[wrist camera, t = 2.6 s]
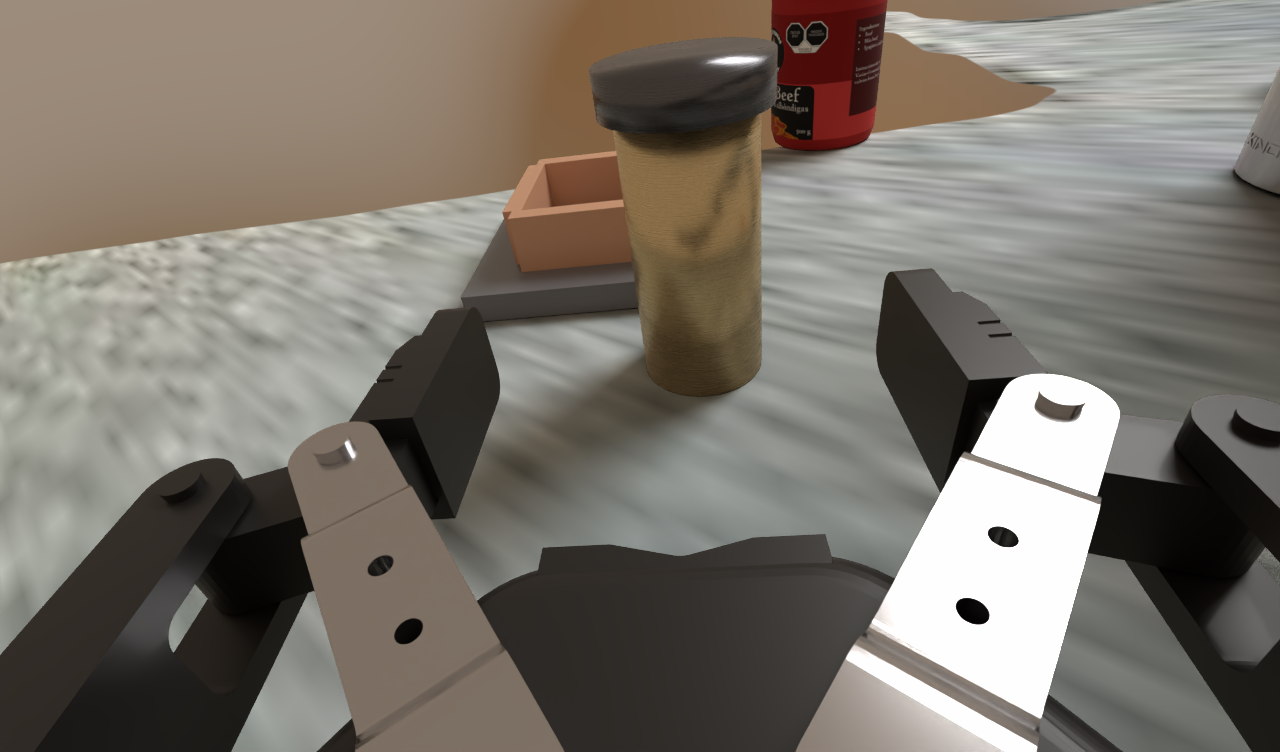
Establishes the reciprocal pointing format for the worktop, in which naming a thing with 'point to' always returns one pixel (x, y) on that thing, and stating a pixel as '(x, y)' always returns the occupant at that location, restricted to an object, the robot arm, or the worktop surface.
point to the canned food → (826, 71)
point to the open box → (558, 244)
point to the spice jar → (693, 200)
